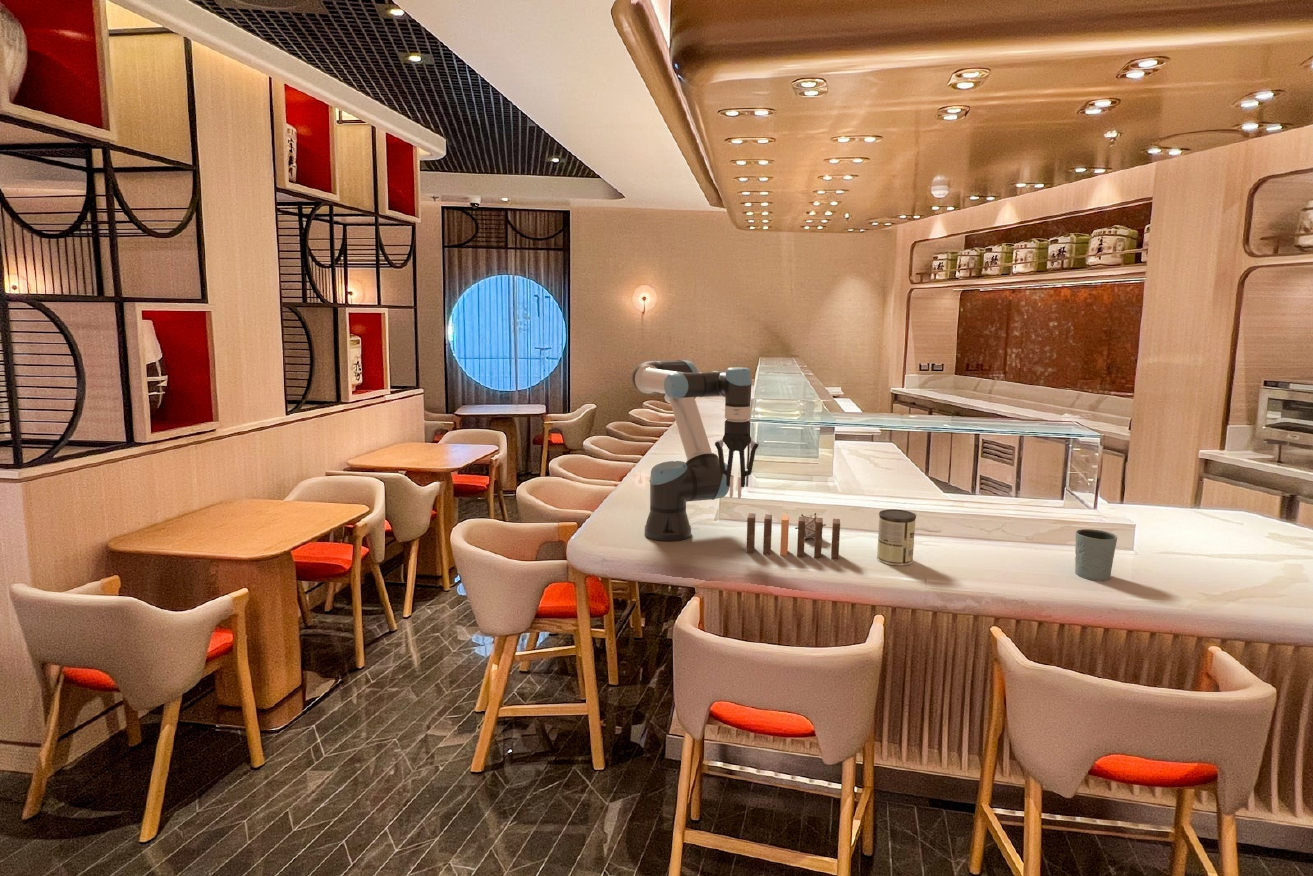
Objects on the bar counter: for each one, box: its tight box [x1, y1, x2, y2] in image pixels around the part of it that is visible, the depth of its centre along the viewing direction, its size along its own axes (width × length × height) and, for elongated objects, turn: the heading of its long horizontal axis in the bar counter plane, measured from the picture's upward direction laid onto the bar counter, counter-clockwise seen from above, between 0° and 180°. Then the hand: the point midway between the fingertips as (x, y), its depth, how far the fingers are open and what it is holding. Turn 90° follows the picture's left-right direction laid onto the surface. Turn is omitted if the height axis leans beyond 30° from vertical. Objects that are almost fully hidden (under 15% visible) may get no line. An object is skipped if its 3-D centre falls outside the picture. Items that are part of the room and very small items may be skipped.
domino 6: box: [830, 518, 841, 561], centre depth 225 cm, size 2×5×11 cm, turn 168°
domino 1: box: [745, 512, 756, 554], centre depth 230 cm, size 2×5×11 cm, turn 168°
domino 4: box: [796, 516, 806, 558], centre depth 227 cm, size 2×5×11 cm, turn 168°
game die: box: [794, 512, 827, 541], centre depth 243 cm, size 9×8×10 cm
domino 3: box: [779, 514, 790, 557], centre depth 228 cm, size 2×5×11 cm, turn 168°
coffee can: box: [876, 508, 917, 567], centre depth 223 cm, size 10×10×14 cm
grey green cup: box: [1074, 528, 1118, 582], centre depth 212 cm, size 10×10×12 cm
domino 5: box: [813, 517, 824, 559], centre depth 226 cm, size 2×5×11 cm, turn 168°
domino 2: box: [762, 514, 773, 555], centre depth 229 cm, size 2×5×11 cm, turn 168°
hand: (735, 496), depth 229 cm, fingers open, 2 cm apart
